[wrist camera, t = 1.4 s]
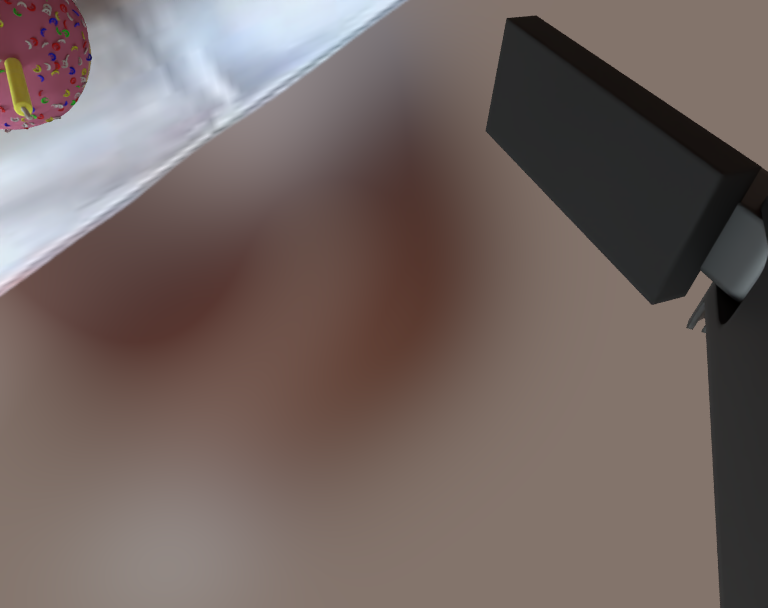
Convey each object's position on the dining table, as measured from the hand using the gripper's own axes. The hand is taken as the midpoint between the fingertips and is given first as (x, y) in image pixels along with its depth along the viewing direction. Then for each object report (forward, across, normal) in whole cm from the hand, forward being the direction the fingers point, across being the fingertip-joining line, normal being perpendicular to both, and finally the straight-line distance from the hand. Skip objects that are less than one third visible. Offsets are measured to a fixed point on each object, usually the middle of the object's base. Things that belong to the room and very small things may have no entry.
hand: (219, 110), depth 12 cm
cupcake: (+25, -8, -5) cm, 27 cm away
